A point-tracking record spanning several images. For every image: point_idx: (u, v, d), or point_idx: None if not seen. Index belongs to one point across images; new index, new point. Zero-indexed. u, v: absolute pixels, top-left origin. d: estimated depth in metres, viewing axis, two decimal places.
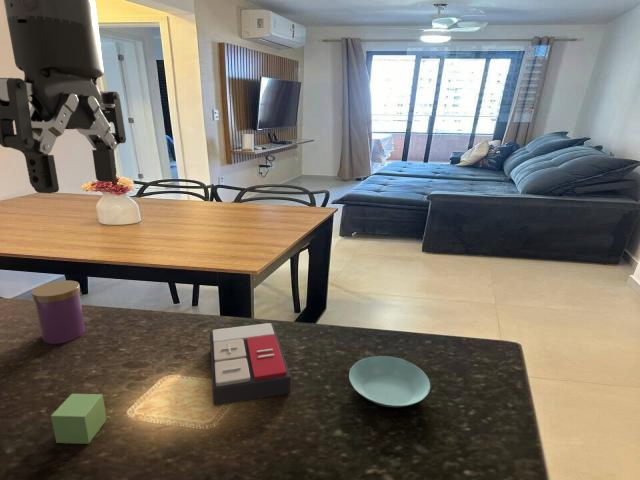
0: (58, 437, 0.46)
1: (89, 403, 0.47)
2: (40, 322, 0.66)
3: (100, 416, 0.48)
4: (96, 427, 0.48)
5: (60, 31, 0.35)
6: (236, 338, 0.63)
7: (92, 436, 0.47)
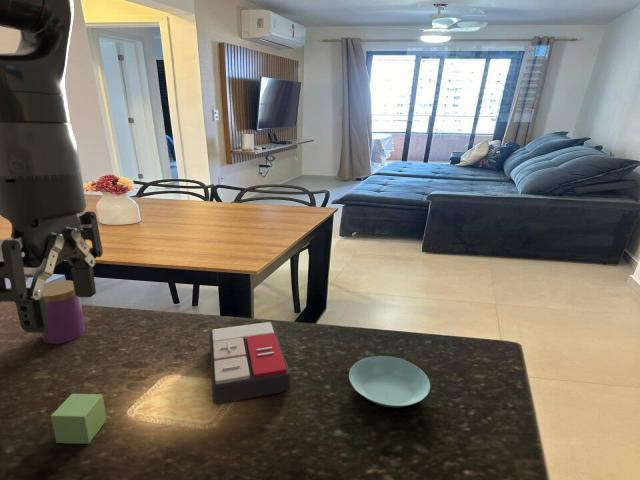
0: (58, 437, 0.46)
1: (89, 403, 0.47)
2: None
3: (100, 416, 0.48)
4: (96, 427, 0.48)
5: (49, 186, 0.37)
6: (236, 337, 0.63)
7: (92, 436, 0.47)
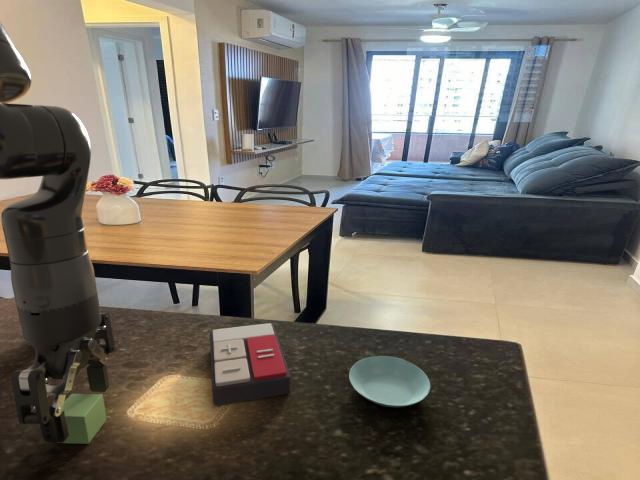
0: None
1: (89, 403, 0.47)
2: None
3: (100, 416, 0.48)
4: (96, 427, 0.48)
5: (69, 314, 0.41)
6: (236, 338, 0.63)
7: (92, 436, 0.47)
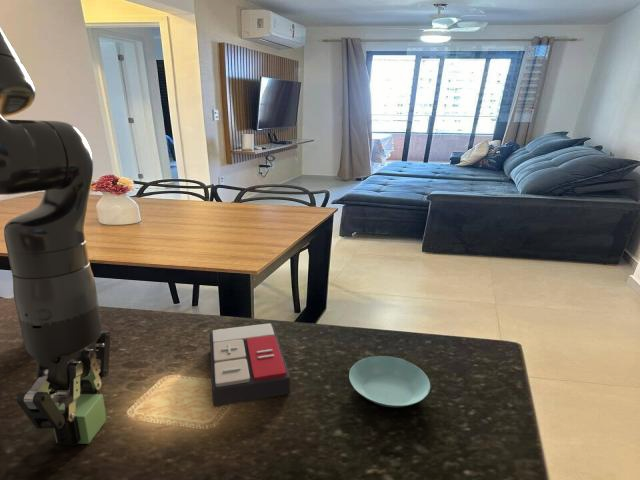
0: None
1: (89, 403, 0.47)
2: None
3: (100, 416, 0.48)
4: (96, 427, 0.48)
5: (71, 327, 0.41)
6: (236, 338, 0.63)
7: (92, 436, 0.47)
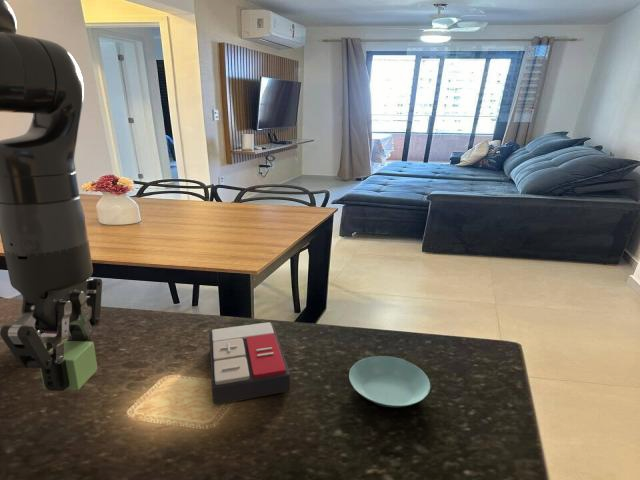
0: None
1: (79, 349, 0.45)
2: None
3: (91, 364, 0.46)
4: (86, 374, 0.45)
5: (59, 260, 0.39)
6: (235, 337, 0.63)
7: (82, 383, 0.45)
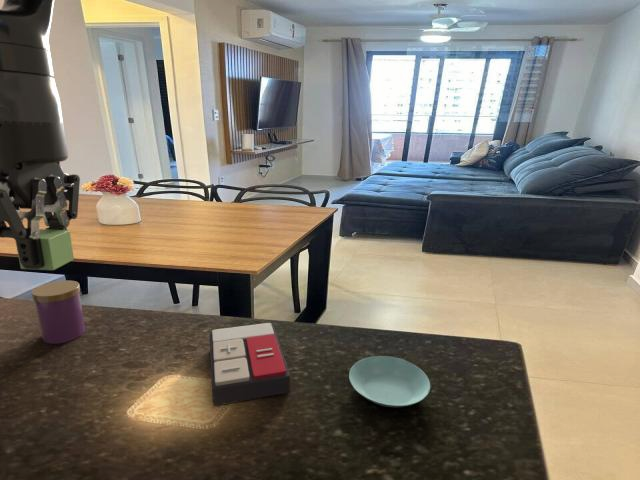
0: None
1: (55, 233, 0.47)
2: (40, 322, 0.66)
3: (67, 251, 0.48)
4: (62, 259, 0.47)
5: (32, 132, 0.41)
6: (236, 338, 0.63)
7: (57, 265, 0.47)
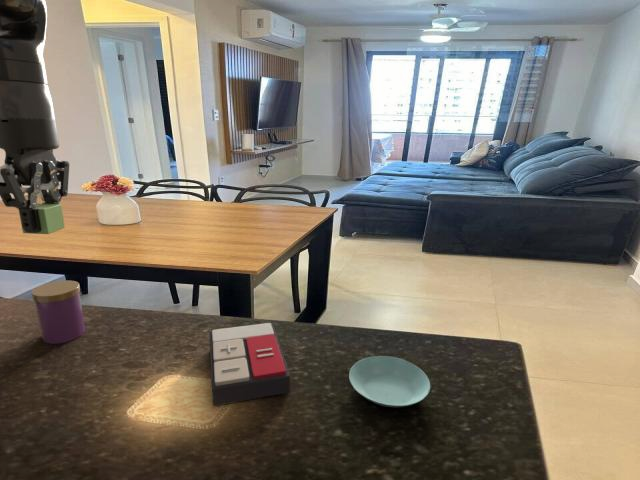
0: None
1: (49, 206, 0.60)
2: (40, 322, 0.66)
3: (59, 220, 0.61)
4: (55, 226, 0.61)
5: (31, 126, 0.54)
6: (236, 338, 0.63)
7: (51, 230, 0.60)
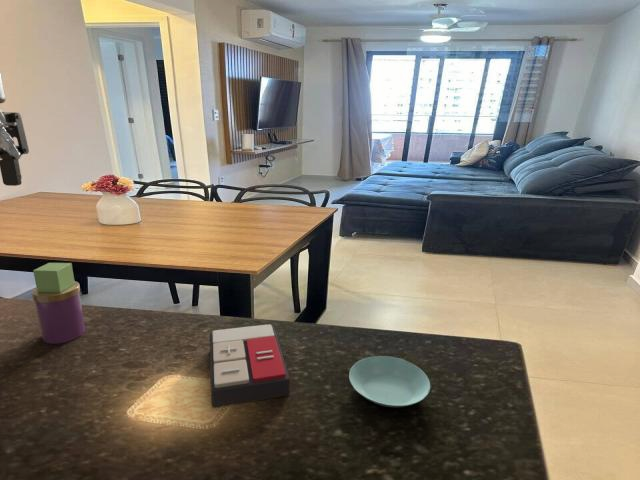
0: (39, 287, 0.65)
1: (61, 266, 0.66)
2: (40, 322, 0.66)
3: (69, 278, 0.68)
4: (66, 284, 0.67)
5: None
6: (236, 339, 0.63)
7: (63, 288, 0.66)
